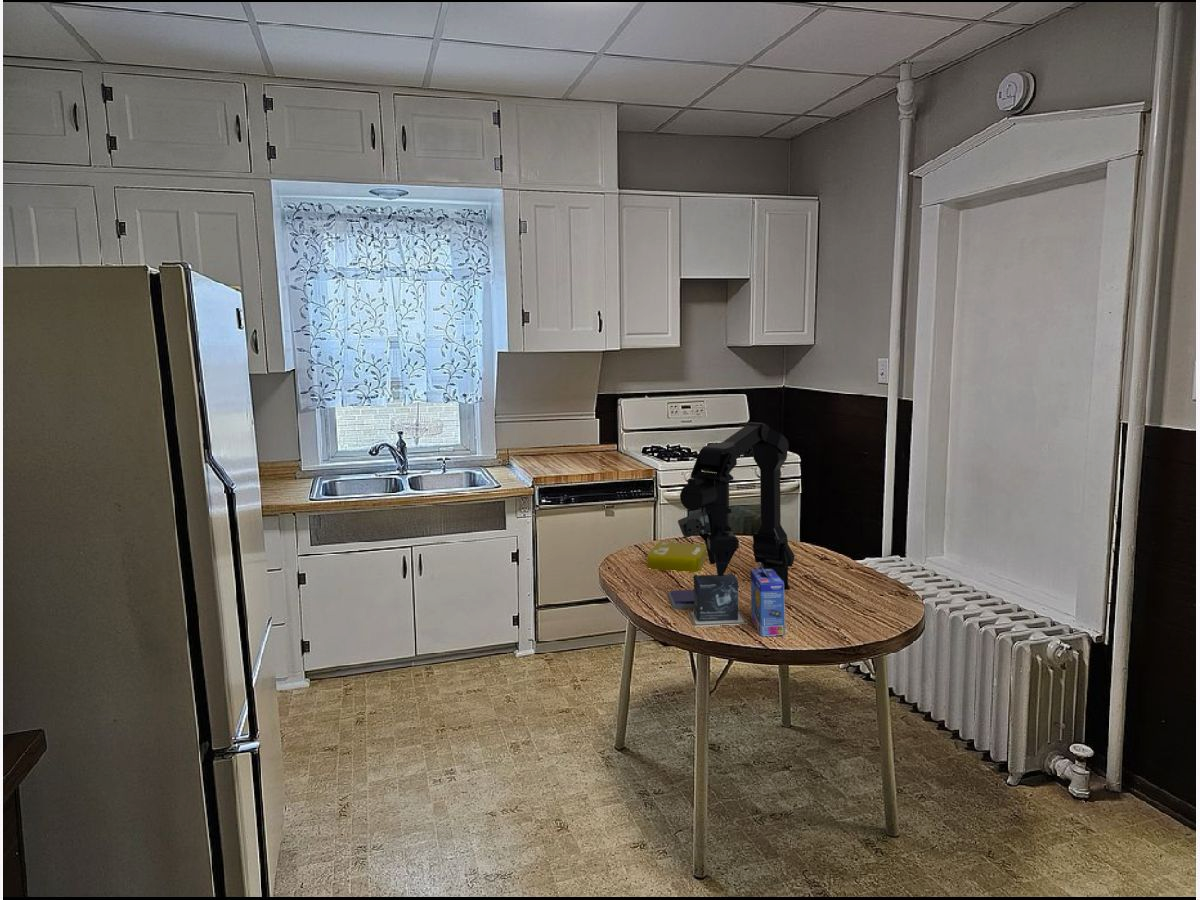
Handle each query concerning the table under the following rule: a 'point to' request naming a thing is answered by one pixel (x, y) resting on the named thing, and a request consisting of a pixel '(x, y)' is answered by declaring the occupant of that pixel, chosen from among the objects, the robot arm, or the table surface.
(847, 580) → the table surface
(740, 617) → the card
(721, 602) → the box
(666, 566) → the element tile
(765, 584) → the ink cartridge box
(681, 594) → the ink pad
